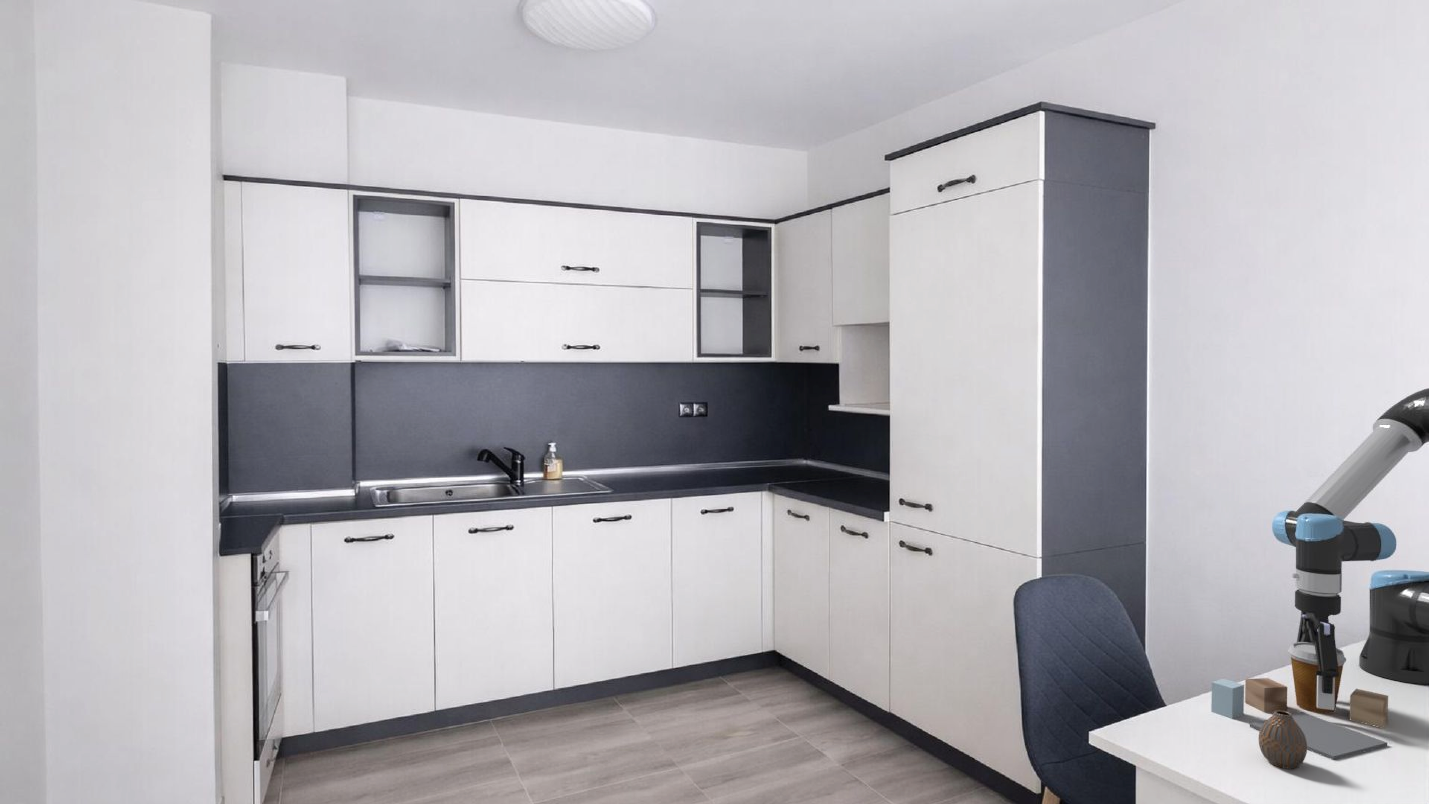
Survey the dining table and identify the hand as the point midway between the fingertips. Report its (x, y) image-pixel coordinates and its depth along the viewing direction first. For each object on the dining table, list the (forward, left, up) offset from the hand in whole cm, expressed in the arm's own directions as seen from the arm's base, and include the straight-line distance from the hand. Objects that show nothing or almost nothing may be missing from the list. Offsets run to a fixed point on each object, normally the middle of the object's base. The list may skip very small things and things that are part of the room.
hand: (1315, 696), depth 168 cm
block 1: (+19, -3, +1) cm, 19 cm away
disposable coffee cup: (0, 0, -2) cm, 2 cm away
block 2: (+9, -4, -2) cm, 10 cm away
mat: (+14, +9, -2) cm, 17 cm away
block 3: (-3, +8, -2) cm, 9 cm away
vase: (+31, +14, -2) cm, 34 cm away
